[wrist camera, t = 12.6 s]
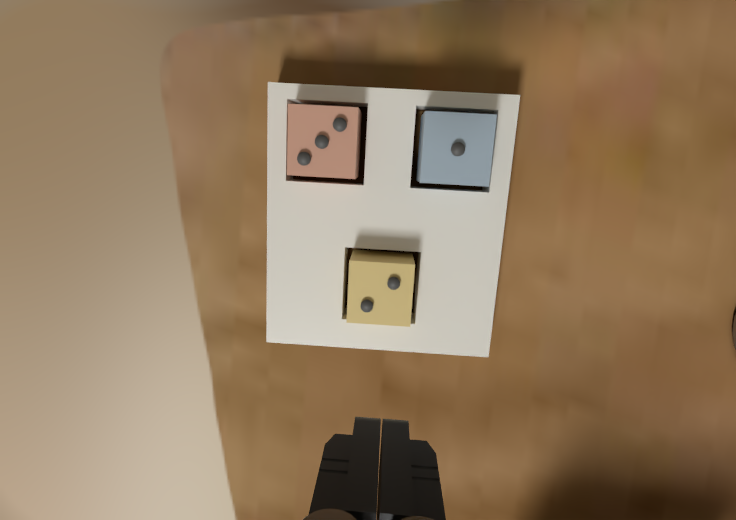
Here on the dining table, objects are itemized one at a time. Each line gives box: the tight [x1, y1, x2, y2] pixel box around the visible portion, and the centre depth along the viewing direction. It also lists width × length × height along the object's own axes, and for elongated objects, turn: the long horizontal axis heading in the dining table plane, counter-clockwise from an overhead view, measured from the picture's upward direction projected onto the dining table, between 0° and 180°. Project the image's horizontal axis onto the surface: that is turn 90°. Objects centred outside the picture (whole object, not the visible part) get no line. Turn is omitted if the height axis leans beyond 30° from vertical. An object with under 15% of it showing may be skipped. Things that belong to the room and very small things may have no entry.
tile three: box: [287, 104, 362, 179], centre depth 25 cm, size 4×4×3 cm
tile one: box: [416, 111, 497, 187], centre depth 25 cm, size 4×4×3 cm
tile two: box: [346, 250, 415, 327], centre depth 27 cm, size 4×4×3 cm
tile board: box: [267, 82, 520, 357], centre depth 27 cm, size 14×15×2 cm
